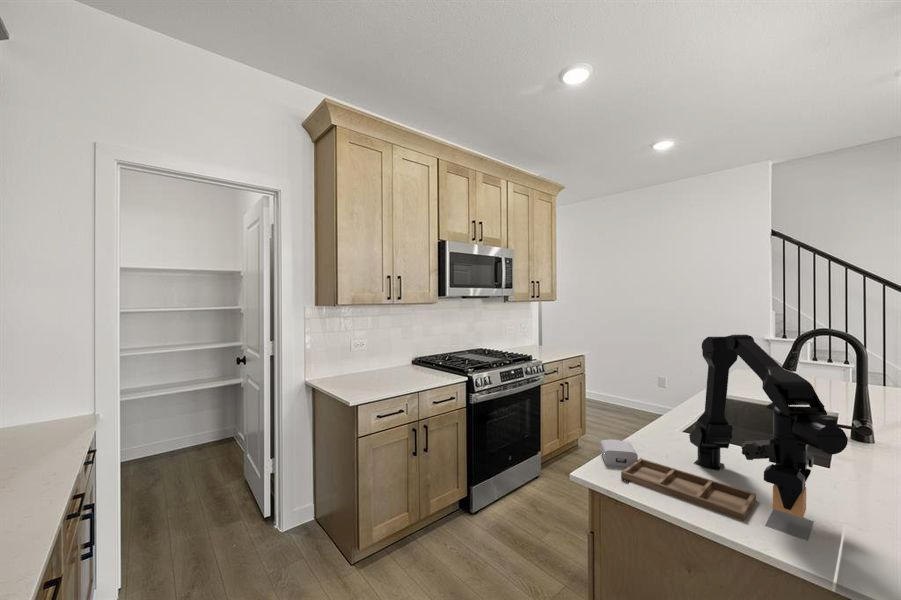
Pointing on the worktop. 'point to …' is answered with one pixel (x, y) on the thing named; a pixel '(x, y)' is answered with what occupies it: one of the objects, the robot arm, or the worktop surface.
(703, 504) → the organiser
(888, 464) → the worktop surface
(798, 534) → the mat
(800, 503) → the letter cube
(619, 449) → the charger
